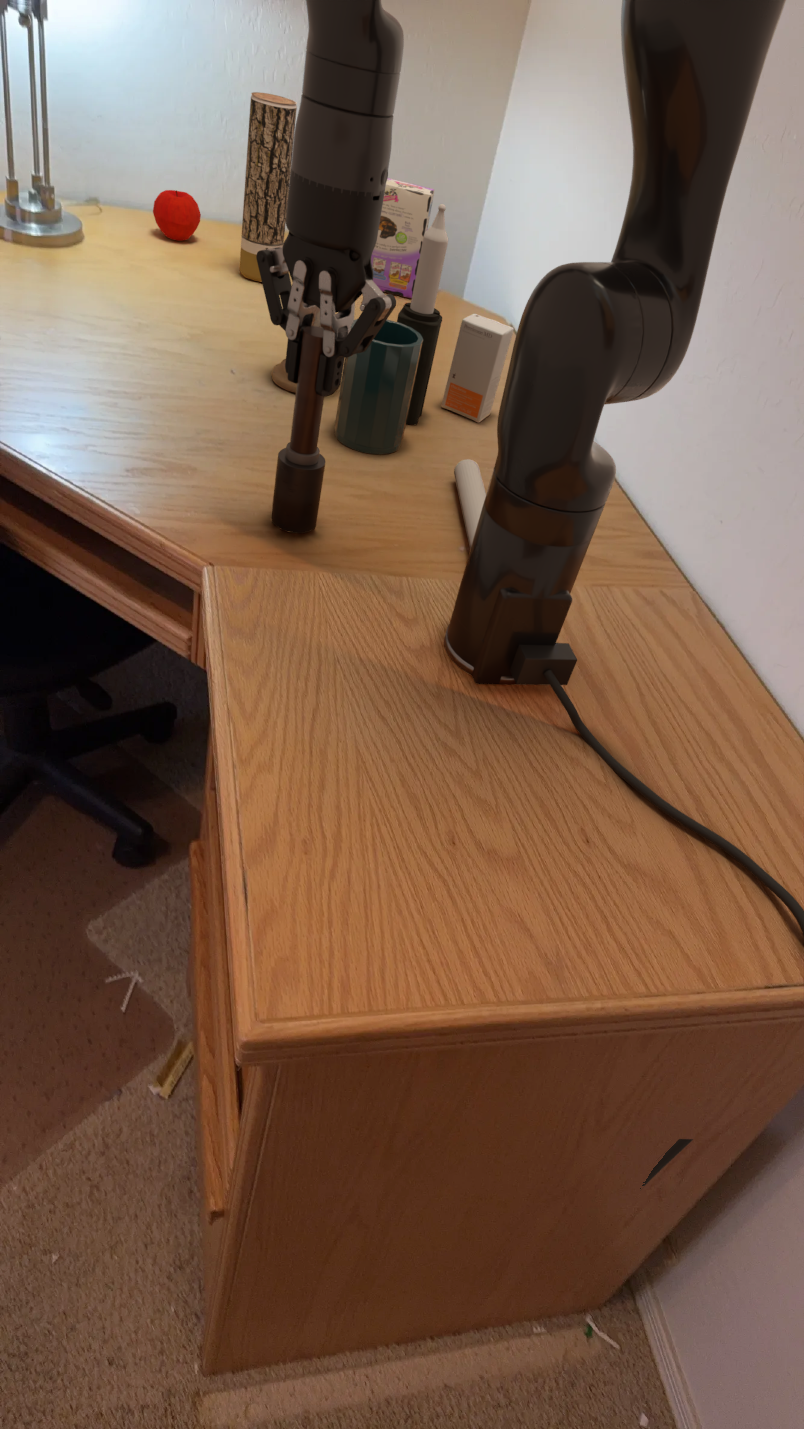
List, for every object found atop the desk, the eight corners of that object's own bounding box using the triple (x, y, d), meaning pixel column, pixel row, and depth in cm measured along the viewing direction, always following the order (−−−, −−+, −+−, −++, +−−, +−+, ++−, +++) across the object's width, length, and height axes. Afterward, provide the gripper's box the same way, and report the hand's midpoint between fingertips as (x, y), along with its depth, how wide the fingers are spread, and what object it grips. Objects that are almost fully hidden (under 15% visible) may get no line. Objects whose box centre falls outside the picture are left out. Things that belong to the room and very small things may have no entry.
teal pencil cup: (407, 457, 107) (430, 350, 98) (340, 451, 104) (357, 341, 96) (393, 426, 113) (414, 322, 104) (329, 419, 110) (345, 313, 102)
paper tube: (232, 275, 144) (243, 93, 128) (249, 266, 149) (262, 90, 133) (270, 287, 143) (286, 105, 127) (286, 277, 149) (303, 102, 132)
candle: (415, 426, 114) (461, 214, 98) (378, 416, 114) (417, 202, 98) (422, 412, 118) (467, 205, 101) (386, 402, 118) (425, 194, 102)
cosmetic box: (439, 408, 120) (460, 318, 112) (452, 399, 123) (473, 311, 115) (479, 424, 119) (503, 334, 111) (491, 415, 122) (515, 327, 114)
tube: (505, 606, 87) (475, 484, 105) (514, 580, 85) (482, 460, 103) (476, 602, 86) (451, 480, 104) (484, 576, 84) (457, 456, 102)
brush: (319, 534, 88) (348, 344, 76) (273, 531, 87) (295, 338, 75) (313, 510, 92) (339, 325, 79) (268, 507, 90) (289, 318, 78)
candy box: (416, 291, 157) (436, 188, 147) (412, 300, 153) (432, 194, 142) (342, 271, 157) (356, 167, 146) (335, 280, 153) (349, 173, 142)
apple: (185, 230, 157) (186, 183, 153) (208, 245, 154) (210, 198, 149) (144, 230, 153) (144, 182, 148) (167, 245, 149) (168, 197, 144)
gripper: (239, 148, 68) (225, 367, 80) (385, 204, 64) (349, 427, 76) (298, 145, 74) (277, 351, 85) (437, 196, 69) (396, 406, 81)
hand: (311, 386), depth 80 cm, fingers closed on brush, 2 cm apart
